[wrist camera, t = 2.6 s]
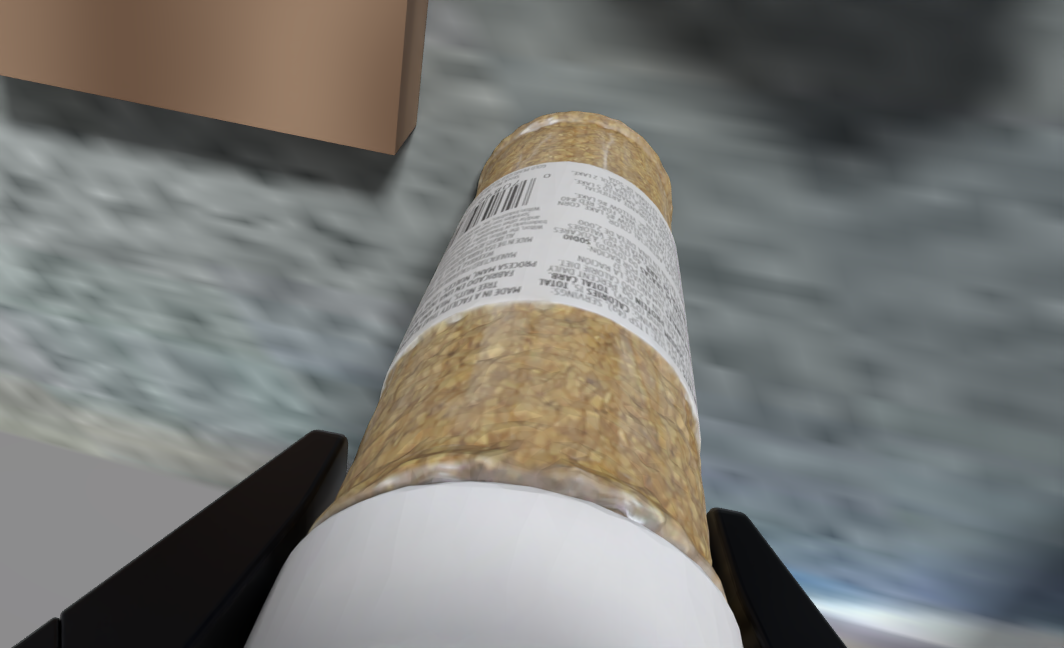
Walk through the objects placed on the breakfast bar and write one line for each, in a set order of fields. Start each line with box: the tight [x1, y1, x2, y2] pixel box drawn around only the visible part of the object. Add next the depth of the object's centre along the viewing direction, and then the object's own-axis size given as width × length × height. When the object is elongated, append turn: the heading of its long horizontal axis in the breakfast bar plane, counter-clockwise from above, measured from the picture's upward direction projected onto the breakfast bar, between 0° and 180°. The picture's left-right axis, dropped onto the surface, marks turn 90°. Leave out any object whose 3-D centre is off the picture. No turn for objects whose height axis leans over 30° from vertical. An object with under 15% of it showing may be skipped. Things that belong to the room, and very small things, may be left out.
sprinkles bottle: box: [244, 111, 743, 648], centre depth 11 cm, size 5×5×13 cm
